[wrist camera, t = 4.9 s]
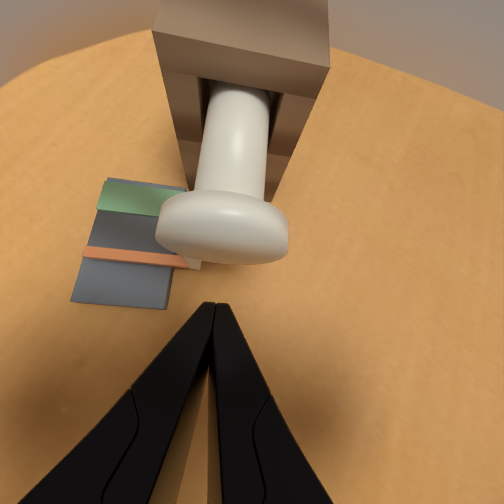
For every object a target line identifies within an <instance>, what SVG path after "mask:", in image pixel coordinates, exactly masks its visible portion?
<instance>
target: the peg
mask: <svg viewBox="0 0 504 504" xmlns="http://www.w3.org/2000/svg"><path fill="white" fill-rule="evenodd" d="M270 97H271V91H270V90H265V89H260V88H255V87H249V86H244V85H239V84H234V83H228V82H223V81H218V80H213V81H212V87H211V93H210V99H209V104H208V110H207V116H206V122H205V128H204V134H203V140H202V145H201V151H200V157H199V163H198V169H197V175H196V181H195V186H194V191H188V192H183V193H179V194H176V195H174V196H172V197H170V198H168V199H167V200H166V201H165V202H164V203H163V204H162V206H161V210H160V214H159V219H158V224H157V228H156V233H155V239H156V240H157V242H158V243H159V244H160V245H162V246H163V247H164V248H166V249H168V250H170V251H172V252H174V253H177V254H179V255H182V256H179V255H170V254H160V253H151V252H141V251H132V250H122V249H113V248H103V247H94V246H85V248H84V251H83V255H82V256H83V257H85V258H88V259H98V260H108V261H118V262H128V263H138V264H148V265H158V266H168V267H178V268H188V269H198V270H200V268H201V261H206V262H212V263H220V264H231V265H255V264H264V263H270V262H274V261H277V260H279V259H281V258H283V257H284V256H285V255H286V254H287V252H288V227H289V225H288V220H287V218H286V216H285V215H284V214H283V213H282V212H281V211H280V210H279V209H277V208H276V207H274V206H273V205H271V204H269V203H267V202H265V201H264V189H265V174H266V158H267V143H268V128H269V113H270Z"/></svg>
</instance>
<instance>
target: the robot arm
mask: <svg viewBox="0 0 504 504" xmlns="http://www.w3.org/2000/svg"><path fill="white" fill-rule="evenodd" d="M209 361H210V362H209ZM208 368H209V374H208ZM207 374H208V497H207V504H334V503H333V502H332V500H331V499H330V497H329V495H328V494H327V492H326V490H325V489H324V487H323V485H322V484H321V482H320V480H319V479H318V477H317V476H316V474H315V472H314V471H313V469H312V467H311V466H310V464H309V462H308V461H307V459H306V457H305V456H304V454H303V452H302V451H301V449H300V447H299V445H298V444H297V442H296V440H295V438H294V437H293V435H292V433H291V431H290V430H289V428H288V426H287V424H286V422H285V420H284V418H283V416H282V414H281V412H280V410H279V408H278V406H277V404H276V402H275V400H274V397H273V396H272V395H270V394H271V391H270V389H269V387H268V385H267V383H266V381H265V379H264V377H263V375H262V373H261V370H260V368H259V366H258V364H257V362H256V360H255V358H254V356H253V354H252V352H251V349H250V347H249V345H248V343H247V341H246V339H245V337H244V335H243V333H242V331H241V328H240V326H239V324H238V322H237V320H236V318H235V316H234V314H233V312H232V310H231V307H230V305H229V304H227V303H217V304H216V303H214V302H203V303H202V304H201V305H200V306H199V308H198V309H197V310H196V311H195V312H194V313H193V315H192V316H191V317H190V318H189V319H188V320H187V322H186V323H185V324H184V325H183V326H182V327H181V328H180V330H179V331H178V332H177V333H176V334H175V335H174V337H173V338H172V339H171V340H170V341H169V342H168V344H167V345H166V346H165V347H164V348H163V349H162V350H161V352H160V353H159V354H158V355H157V356H156V357H155V359H154V360H153V361H152V362H151V363H150V364H149V366H148V367H147V368H146V369H145V370H144V371H143V372H142V374H141V375H140V376H139V377H138V378H137V379H136V381H135V382H134V383H133V384H132V385H131V387H130V388H131V389H128V390H127V391H126V392H125V393H124V394H123V395H122V397H121V398H120V399H119V400H118V401H117V402H116V404H115V405H114V406H113V407H112V408H111V409H110V410H109V411H108V412H107V414H106V415H105V416H104V417H103V418H102V419H101V420H100V421H99V422H98V423H97V425H96V426H95V427H94V428H93V429H92V430H91V431H90V432H89V433H88V434H87V435H86V436H85V437H84V438H83V439H82V440H81V441H80V442H79V443H78V444H77V445H76V446H75V447H74V448H73V449H72V450H71V451H70V452H69V453H68V454H67V455H66V456H65V457H64V458H63V459H62V460H61V461H60V462H59V463H58V464H57V465H56V466H55V467H54V468H53V469H52V470H51V471H50V472H49V473H48V474H47V475H46V476H45V477H44V478H43V479H42V480H41V481H40V482H39V483H38V484H37V485H36V486H35V487H34V488H33V489H31V490H30V491H29V492H28V493H27V494H26V495H25V496H24V497H23V498H22V499H21V500H20V501H19V502H18V503H17V504H176V501H177V497H178V493H179V489H180V485H181V480H182V476H183V472H184V468H185V464H186V460H187V456H188V452H189V448H190V444H191V440H192V436H193V432H194V427H195V423H196V419H197V415H198V411H199V407H200V403H201V399H202V395H203V391H204V387H205V383H206V378H207Z"/></svg>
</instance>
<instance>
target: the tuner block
mask: <svg viewBox="0 0 504 504" xmlns="http://www.w3.org/2000/svg"><path fill="white" fill-rule="evenodd" d="M328 25H329V24H328V0H161V1H160V5H159V8H158V11H157V15H156V18H155V21H154V25H153V28H152V34H153V38H154V43H155V47H156V51H157V55H158V60H159V64H160V68H161V72H162V77H163V81H164V85H165V89H166V94H167V98H168V102H169V106H170V111H171V115H172V119H173V123H174V128H175V132H176V136H177V140H178V145H179V149H180V153H181V157H182V162H183V166H184V170H185V175H186V179H187V183H188V187H189V191H194V186H195V181H196V175H197V169H198V163H199V157H200V151H201V145H202V140H203V134H204V128H205V122H206V116H207V110H208V104H209V99H210V93H211V87H212V81H213V80H218V81H223V82H228V83H234V84H239V85H244V86H249V87H255V88H260V89H265V90H270V91H271V97H270V113H269V128H268V143H267V158H266V174H265V189H264V201H268V202H271V201H272V199H273V197H274V195H275V192H276V190H277V188H278V185H279V183H280V181H281V179H282V176H283V174H284V172H285V169H286V167H287V165H288V163H289V160H290V158H291V156H292V154H293V151H294V149H295V147H296V144H297V142H298V140H299V138H300V135H301V133H302V131H303V128H304V126H305V124H306V122H307V119H308V117H309V115H310V112H311V110H312V108H313V106H314V103H315V101H316V99H317V97H318V94H319V92H320V90H321V87H322V85H323V83H324V81H325V78H326V76H327V74H328V71H329V69H330V49H329V26H328ZM183 192H187V191H186V188H181V187H174V186H167V185H160V184H152V183H145V182H138V181H130V180H123V179H116V178H109V177H108V178H107V181H105V182H104V185H103V188H102V191H101V195H100V198H99V201H98V204H97V208H96V209H97V210H98V211H97V215H96V218H95V221H94V224H93V228H92V231H91V234H90V237H89V241H88V244H87V246H94V247H103V248H113V249H122V250H132V251H141V252H151V253H160V254H170V255H176V254H177V253H174V252H172V251H170V250H168V249H166V248H164V247H163V246H162V245H160V244H159V243H158V242H157V240H156V239H155V233H156V228H157V224H158V219H159V214H160V210H161V206H162V204H163V203H164V202H165V201H166V200H167V199H168V198H170V197H172V196H174V195H176V194H179V193H183ZM82 255H83V253H82ZM82 257H83V256H82ZM173 271H174V267H168V266H158V265H148V264H138V263H128V262H118V261H108V260H98V259H88V258H85V257H83V260H82V264H81V267H80V270H79V274H78V277H77V280H76V283H75V287H74V290H73V293H72V297H71V300H70V302H77V303H89V304H102V305H114V306H127V307H139V308H152V309H164V310H167V304H168V299H169V293H170V288H171V282H172V276H173Z"/></svg>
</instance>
